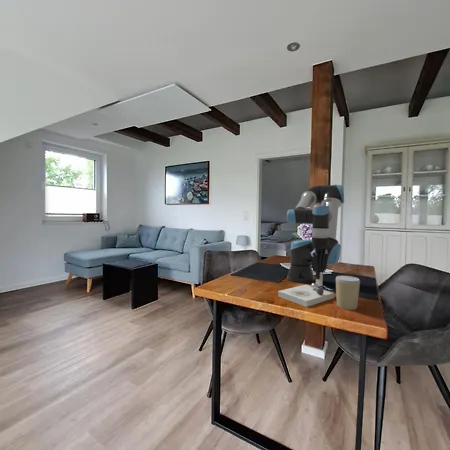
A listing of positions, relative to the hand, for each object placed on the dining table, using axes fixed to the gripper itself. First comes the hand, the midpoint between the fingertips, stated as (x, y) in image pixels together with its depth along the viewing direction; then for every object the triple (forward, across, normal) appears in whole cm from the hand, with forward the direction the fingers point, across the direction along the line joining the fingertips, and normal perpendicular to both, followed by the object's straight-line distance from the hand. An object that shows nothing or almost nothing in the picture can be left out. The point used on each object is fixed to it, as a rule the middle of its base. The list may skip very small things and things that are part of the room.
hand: (319, 285), depth 124 cm
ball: (0, +8, +6) cm, 9 cm away
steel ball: (0, +4, 0) cm, 4 cm away
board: (+4, +10, 0) cm, 10 cm away
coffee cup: (+4, +5, +17) cm, 18 cm away
